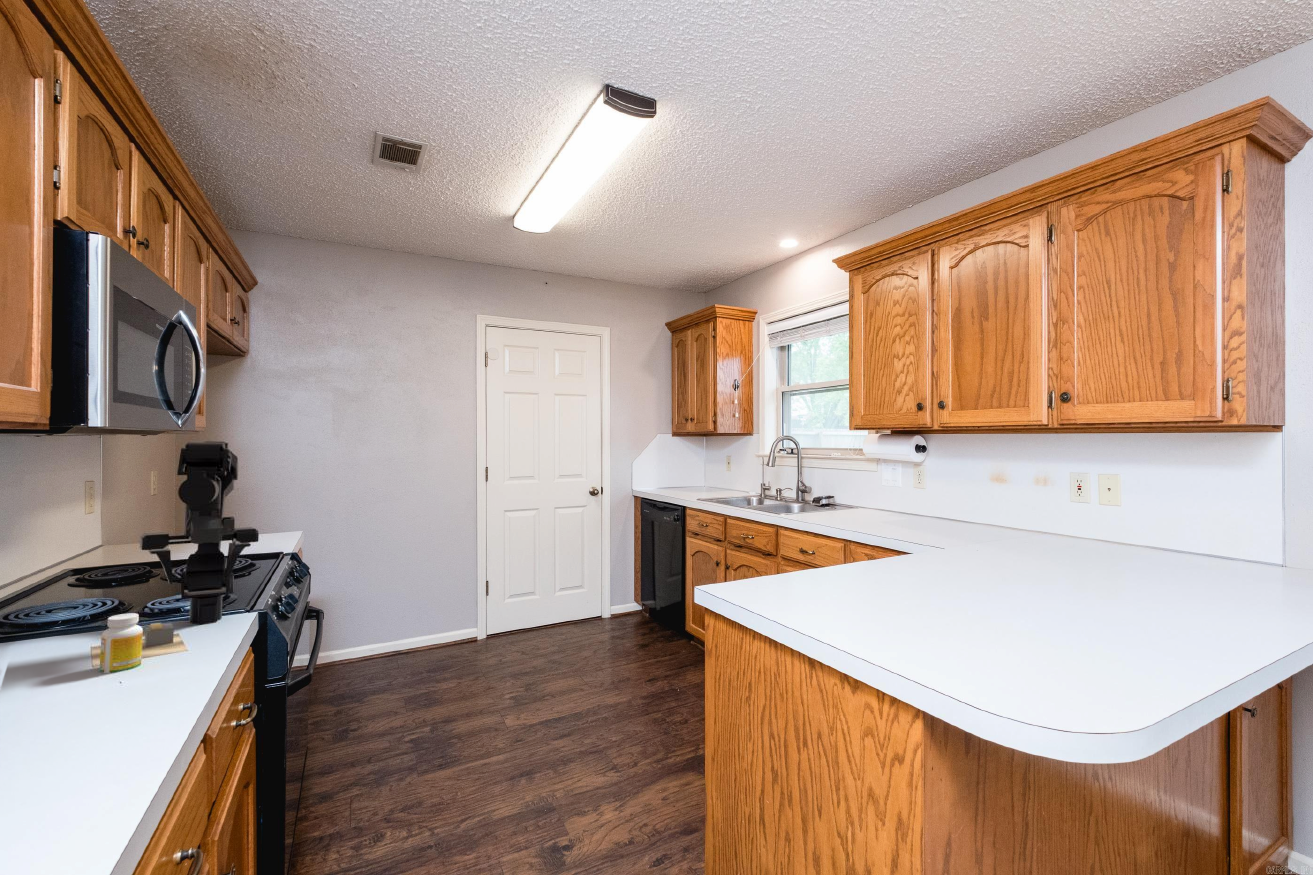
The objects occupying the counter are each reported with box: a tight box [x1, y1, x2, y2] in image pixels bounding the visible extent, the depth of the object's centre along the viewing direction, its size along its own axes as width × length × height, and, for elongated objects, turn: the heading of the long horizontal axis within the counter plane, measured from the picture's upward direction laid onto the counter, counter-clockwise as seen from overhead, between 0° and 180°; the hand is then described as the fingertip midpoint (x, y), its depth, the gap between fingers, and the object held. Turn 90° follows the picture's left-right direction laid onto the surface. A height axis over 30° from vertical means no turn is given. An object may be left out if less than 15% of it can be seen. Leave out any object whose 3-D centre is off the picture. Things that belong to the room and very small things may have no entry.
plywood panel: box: [90, 633, 188, 668], centre depth 112 cm, size 14×13×1 cm
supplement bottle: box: [99, 612, 144, 674], centre depth 103 cm, size 5×5×10 cm
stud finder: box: [144, 622, 175, 647], centre depth 115 cm, size 4×4×4 cm
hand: (199, 580), depth 120 cm, fingers open, 9 cm apart
